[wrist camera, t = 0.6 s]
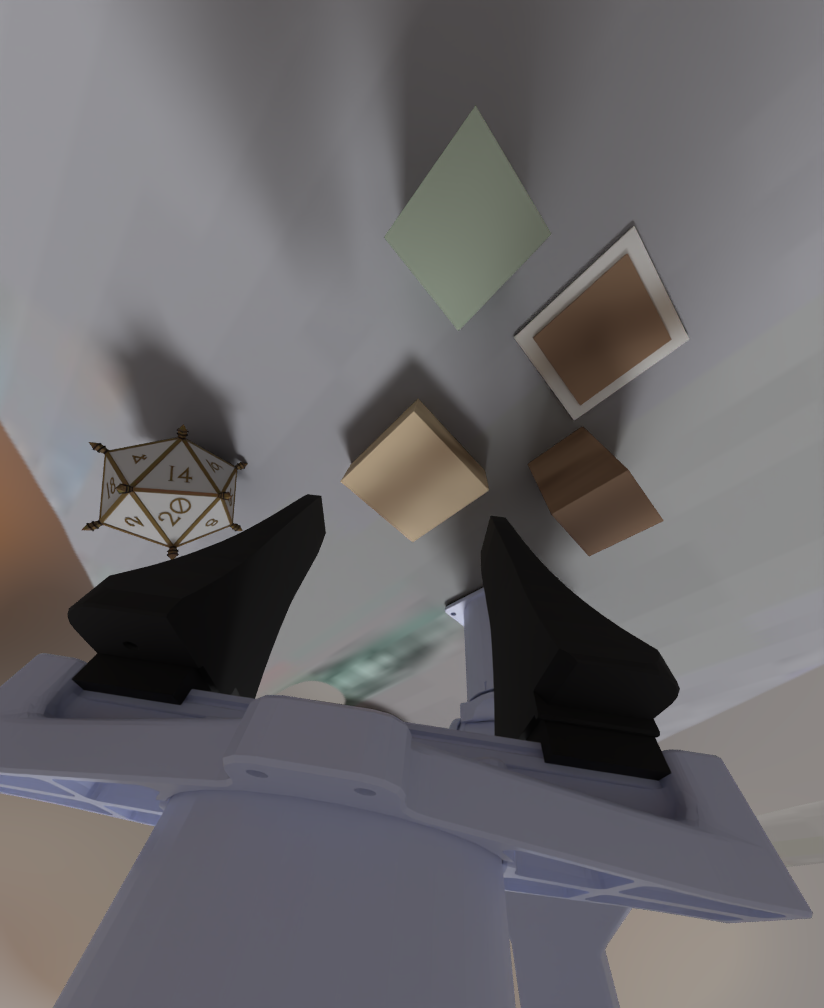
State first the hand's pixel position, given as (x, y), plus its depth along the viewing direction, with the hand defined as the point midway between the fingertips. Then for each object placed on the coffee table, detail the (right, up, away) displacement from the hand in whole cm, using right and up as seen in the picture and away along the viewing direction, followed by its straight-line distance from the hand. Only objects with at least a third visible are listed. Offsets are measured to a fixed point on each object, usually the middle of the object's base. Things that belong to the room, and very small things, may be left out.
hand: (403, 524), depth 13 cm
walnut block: (+11, +4, +8) cm, 14 cm away
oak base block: (+1, +4, +9) cm, 10 cm away
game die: (-15, +4, +11) cm, 19 cm away
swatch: (+11, +10, +4) cm, 15 cm away
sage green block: (+3, +13, +2) cm, 14 cm away
